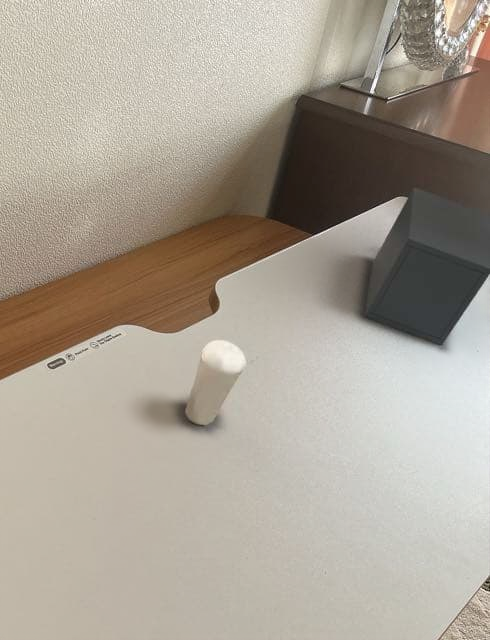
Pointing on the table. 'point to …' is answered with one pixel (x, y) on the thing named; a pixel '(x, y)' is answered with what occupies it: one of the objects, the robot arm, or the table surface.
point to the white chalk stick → (214, 380)
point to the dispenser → (429, 266)
